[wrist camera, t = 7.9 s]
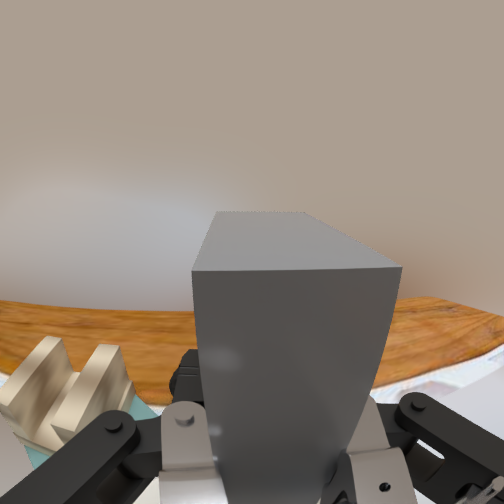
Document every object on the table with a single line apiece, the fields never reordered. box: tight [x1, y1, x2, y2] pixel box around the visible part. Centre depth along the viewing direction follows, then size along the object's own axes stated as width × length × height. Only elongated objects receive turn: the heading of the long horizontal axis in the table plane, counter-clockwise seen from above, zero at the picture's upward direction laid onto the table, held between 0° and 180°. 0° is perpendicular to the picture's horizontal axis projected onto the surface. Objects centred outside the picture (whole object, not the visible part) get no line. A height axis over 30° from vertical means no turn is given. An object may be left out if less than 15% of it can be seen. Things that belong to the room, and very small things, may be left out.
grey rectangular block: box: [192, 212, 402, 504], centre depth 8 cm, size 6×3×14 cm, turn 4°
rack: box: [0, 336, 136, 456], centre depth 16 cm, size 10×9×6 cm
